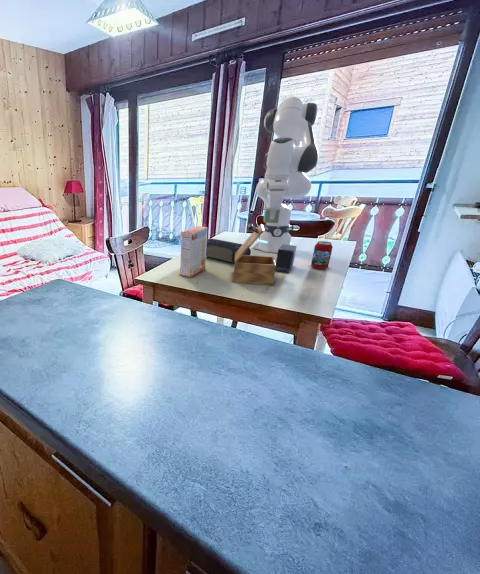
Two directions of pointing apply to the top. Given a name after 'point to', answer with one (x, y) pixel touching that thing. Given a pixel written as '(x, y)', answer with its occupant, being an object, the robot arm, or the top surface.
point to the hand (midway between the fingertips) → (271, 217)
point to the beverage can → (321, 255)
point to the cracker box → (193, 251)
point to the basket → (255, 270)
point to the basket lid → (249, 240)
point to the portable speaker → (223, 250)
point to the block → (267, 214)
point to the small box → (285, 258)
